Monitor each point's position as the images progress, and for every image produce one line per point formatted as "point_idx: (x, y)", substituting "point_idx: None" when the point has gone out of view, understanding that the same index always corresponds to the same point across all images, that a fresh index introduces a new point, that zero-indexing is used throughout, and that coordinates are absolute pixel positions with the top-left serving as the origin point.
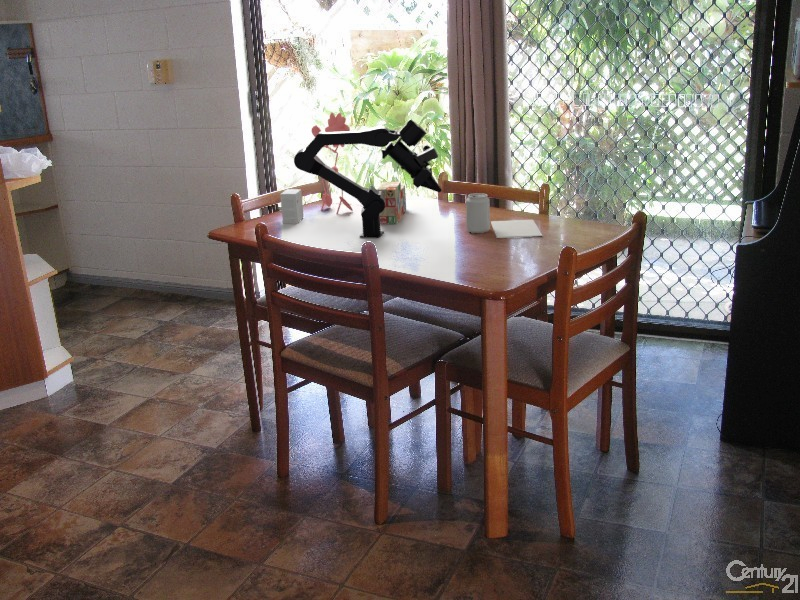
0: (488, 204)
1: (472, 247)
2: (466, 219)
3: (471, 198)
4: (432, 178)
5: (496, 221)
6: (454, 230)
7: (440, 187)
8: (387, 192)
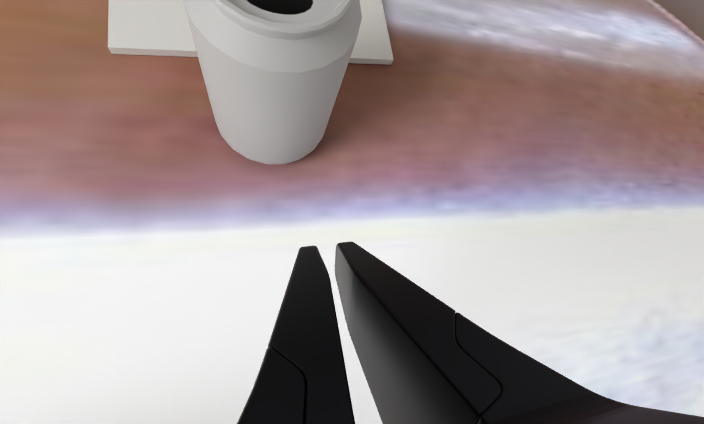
0: None
1: (500, 153)
2: (280, 142)
3: (334, 24)
4: (584, 389)
5: (118, 24)
6: (245, 225)
7: (305, 258)
8: None
